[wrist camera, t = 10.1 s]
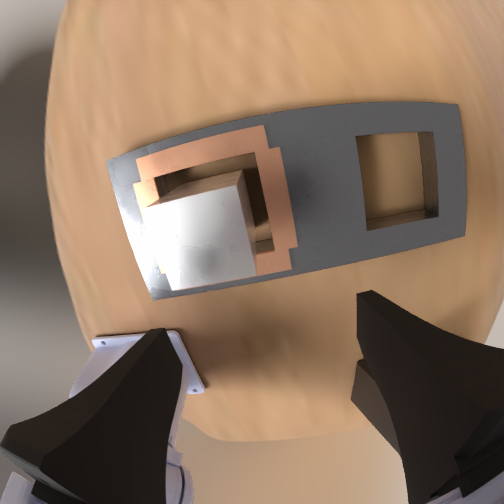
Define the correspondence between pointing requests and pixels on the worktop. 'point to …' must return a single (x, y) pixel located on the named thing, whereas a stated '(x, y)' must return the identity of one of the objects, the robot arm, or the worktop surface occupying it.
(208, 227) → the block
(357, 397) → the phone stand
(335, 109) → the rail plate
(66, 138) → the worktop surface
